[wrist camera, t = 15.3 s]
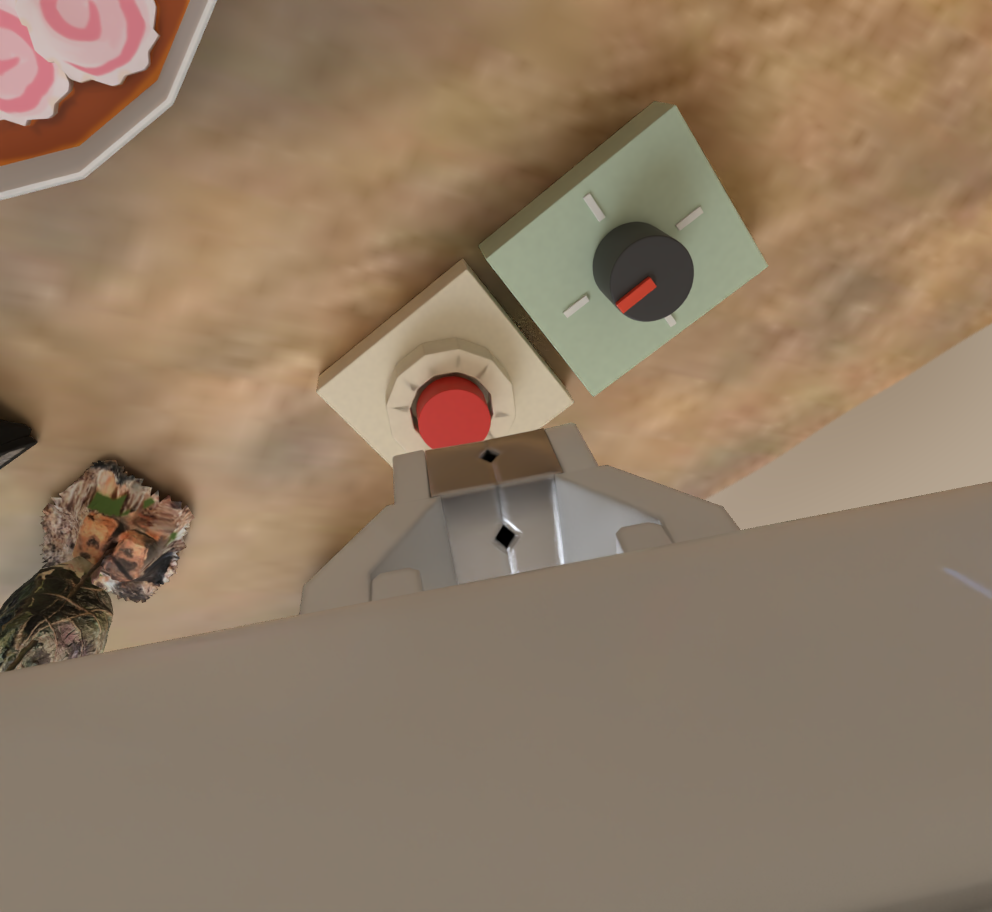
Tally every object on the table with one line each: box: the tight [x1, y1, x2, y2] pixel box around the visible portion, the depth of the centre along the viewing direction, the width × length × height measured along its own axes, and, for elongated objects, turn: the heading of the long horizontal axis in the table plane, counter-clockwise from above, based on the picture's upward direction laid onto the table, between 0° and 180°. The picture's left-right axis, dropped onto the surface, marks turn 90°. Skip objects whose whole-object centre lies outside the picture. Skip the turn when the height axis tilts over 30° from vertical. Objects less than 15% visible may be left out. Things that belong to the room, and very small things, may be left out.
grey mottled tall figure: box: [0, 460, 194, 673], centre depth 36 cm, size 8×11×20 cm
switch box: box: [316, 259, 574, 468], centre depth 41 cm, size 10×10×4 cm
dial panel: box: [478, 101, 768, 397], centre depth 39 cm, size 11×10×3 cm
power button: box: [416, 376, 491, 449], centre depth 39 cm, size 4×4×2 cm
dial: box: [593, 222, 694, 322], centre depth 36 cm, size 4×4×4 cm
